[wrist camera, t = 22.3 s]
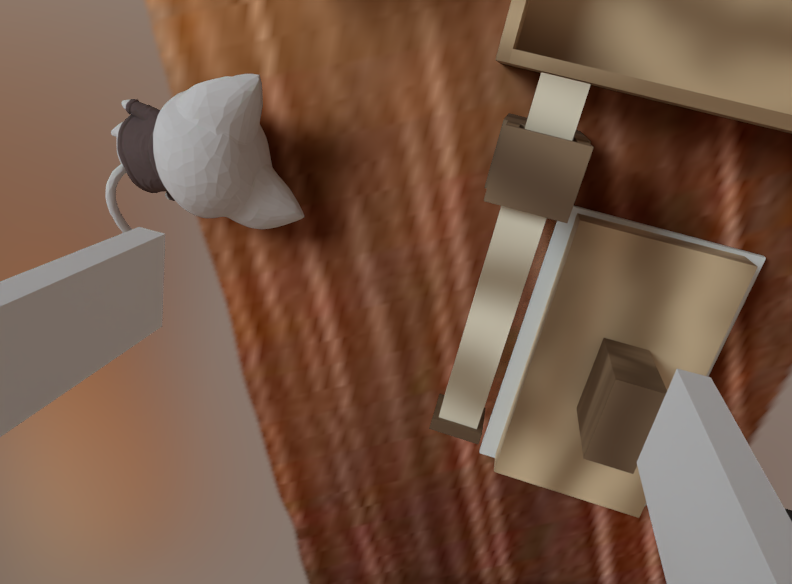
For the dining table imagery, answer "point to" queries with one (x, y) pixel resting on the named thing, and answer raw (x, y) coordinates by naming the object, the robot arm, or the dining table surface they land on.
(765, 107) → the light wood open box
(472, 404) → the beige wooden bar
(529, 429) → the lid
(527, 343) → the light grey flat board
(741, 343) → the dining table surface
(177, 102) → the toy
